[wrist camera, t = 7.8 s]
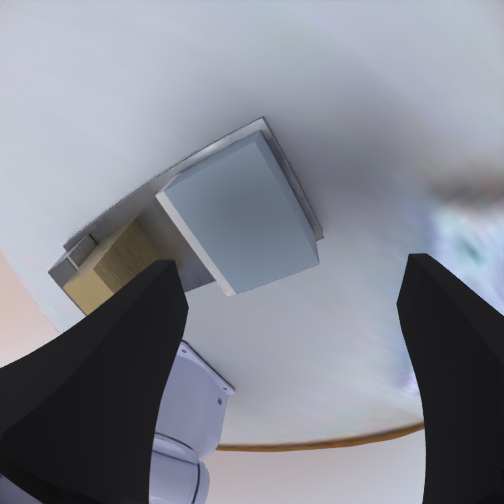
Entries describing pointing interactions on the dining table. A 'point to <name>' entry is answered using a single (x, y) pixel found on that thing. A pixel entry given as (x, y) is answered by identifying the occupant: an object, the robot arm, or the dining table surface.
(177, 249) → the vise
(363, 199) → the dining table surface
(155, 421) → the robot arm
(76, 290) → the tan wooden block
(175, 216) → the block
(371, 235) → the dining table surface
